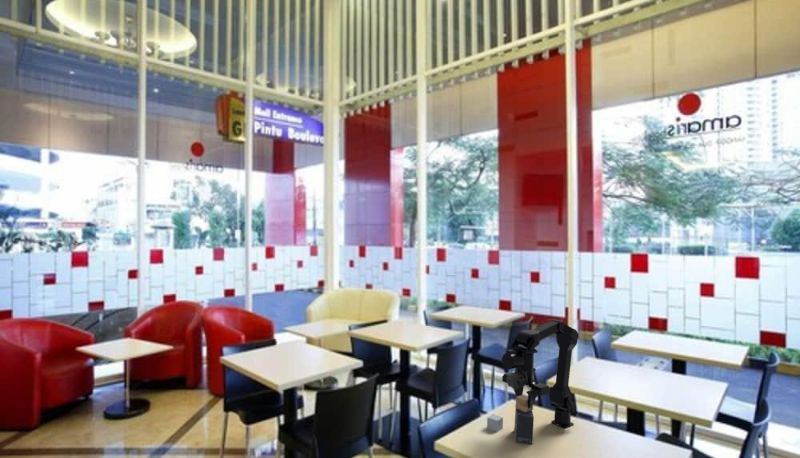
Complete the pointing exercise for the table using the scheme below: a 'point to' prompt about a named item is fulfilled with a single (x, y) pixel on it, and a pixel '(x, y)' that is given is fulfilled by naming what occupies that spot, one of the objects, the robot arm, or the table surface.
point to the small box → (523, 426)
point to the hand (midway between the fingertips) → (524, 405)
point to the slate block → (495, 423)
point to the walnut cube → (523, 403)
